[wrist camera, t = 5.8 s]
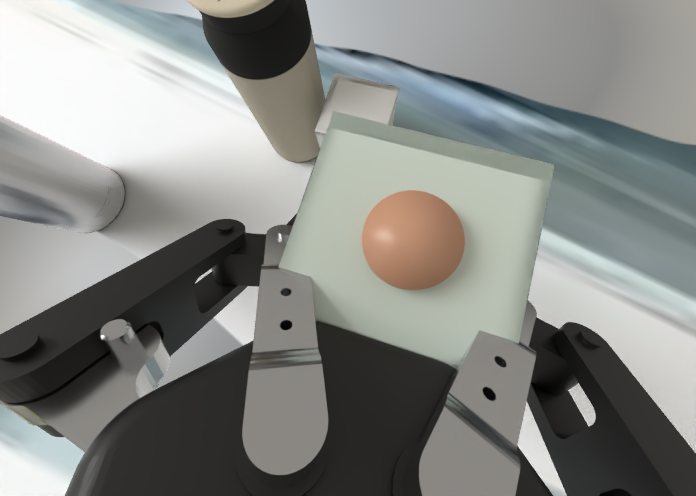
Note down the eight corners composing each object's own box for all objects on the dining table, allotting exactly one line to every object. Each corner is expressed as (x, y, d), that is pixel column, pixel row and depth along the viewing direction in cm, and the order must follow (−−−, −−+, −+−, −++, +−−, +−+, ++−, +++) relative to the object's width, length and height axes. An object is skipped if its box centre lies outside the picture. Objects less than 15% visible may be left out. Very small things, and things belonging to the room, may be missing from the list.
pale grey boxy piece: (322, 303, 16) (252, 323, 6) (350, 215, 17) (331, 100, 7) (415, 333, 16) (516, 414, 5) (439, 240, 16) (566, 156, 6)
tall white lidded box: (329, 180, 32) (314, 131, 22) (343, 137, 33) (335, 73, 23) (375, 192, 32) (380, 147, 22) (388, 149, 33) (399, 87, 23)
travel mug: (335, 158, 33) (302, 1, 15) (274, 167, 33) (171, 24, 15) (327, 103, 34) (289, -99, 17) (269, 113, 34) (170, -76, 17)
